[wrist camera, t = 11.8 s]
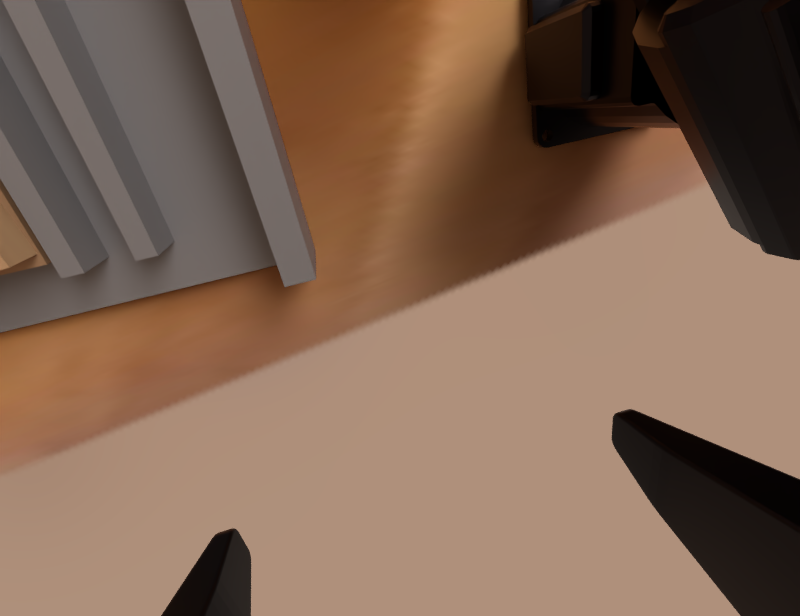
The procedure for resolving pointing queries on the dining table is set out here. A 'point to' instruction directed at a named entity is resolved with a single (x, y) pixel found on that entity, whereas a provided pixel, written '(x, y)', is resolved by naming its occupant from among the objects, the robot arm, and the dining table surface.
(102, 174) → the rack
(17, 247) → the offcut upper
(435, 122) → the dining table surface
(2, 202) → the offcut lower
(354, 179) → the dining table surface
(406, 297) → the dining table surface
